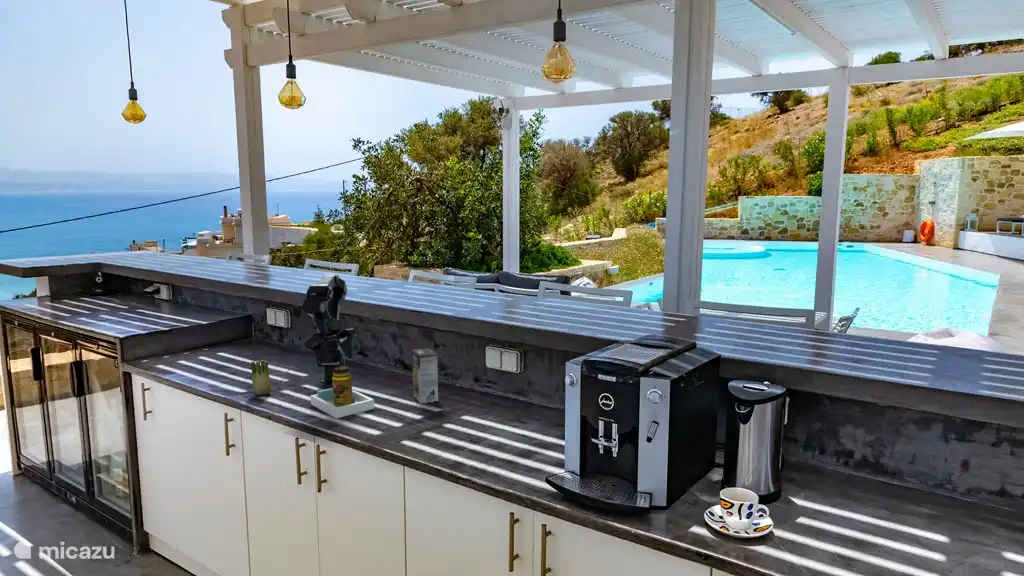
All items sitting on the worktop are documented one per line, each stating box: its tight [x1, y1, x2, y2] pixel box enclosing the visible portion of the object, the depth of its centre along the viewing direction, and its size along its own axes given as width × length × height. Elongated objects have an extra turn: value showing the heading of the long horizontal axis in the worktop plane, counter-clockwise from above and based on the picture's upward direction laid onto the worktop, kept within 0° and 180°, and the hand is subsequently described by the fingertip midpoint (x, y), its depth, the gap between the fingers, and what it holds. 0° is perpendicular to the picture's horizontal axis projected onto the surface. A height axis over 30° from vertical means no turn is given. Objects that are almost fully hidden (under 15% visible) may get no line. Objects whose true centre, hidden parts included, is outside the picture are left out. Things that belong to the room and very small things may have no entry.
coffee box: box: [411, 347, 439, 405], centre depth 214 cm, size 9×6×16 cm
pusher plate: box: [316, 387, 333, 401], centre depth 213 cm, size 1×10×4 cm, turn 131°
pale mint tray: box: [310, 389, 375, 419], centre depth 209 cm, size 19×13×3 cm
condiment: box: [331, 365, 355, 407], centre depth 208 cm, size 7×8×12 cm
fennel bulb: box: [250, 359, 272, 396], centre depth 222 cm, size 6×5×12 cm
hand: (341, 360), depth 215 cm, fingers open, 9 cm apart
